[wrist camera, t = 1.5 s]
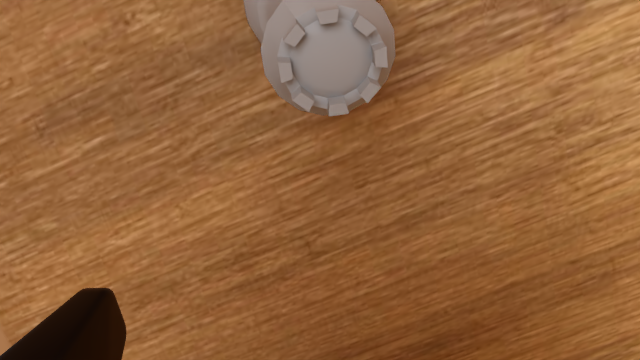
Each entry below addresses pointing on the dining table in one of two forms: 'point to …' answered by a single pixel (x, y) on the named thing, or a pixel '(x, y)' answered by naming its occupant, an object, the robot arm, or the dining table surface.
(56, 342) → the robot arm
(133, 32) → the dining table surface
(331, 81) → the rook chess piece
